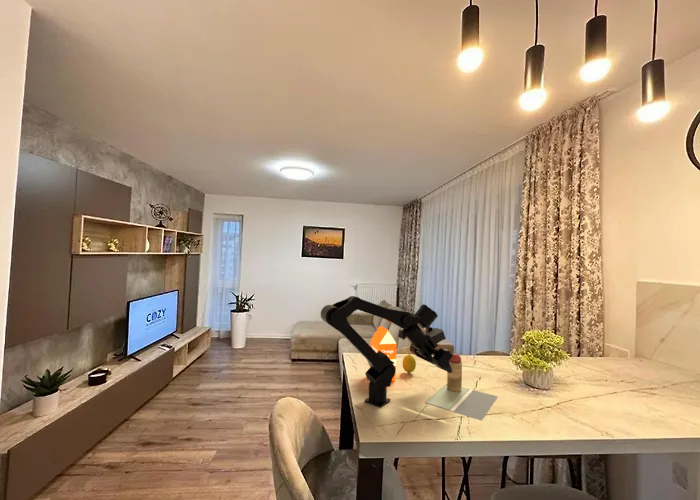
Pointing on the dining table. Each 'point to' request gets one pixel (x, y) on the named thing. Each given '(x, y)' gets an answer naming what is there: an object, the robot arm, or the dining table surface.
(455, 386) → the red topped wooden cylinder
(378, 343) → the orange juice
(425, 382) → the dining table surface
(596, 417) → the dining table surface
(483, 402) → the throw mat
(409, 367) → the lemon
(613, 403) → the dining table surface
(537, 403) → the dining table surface
